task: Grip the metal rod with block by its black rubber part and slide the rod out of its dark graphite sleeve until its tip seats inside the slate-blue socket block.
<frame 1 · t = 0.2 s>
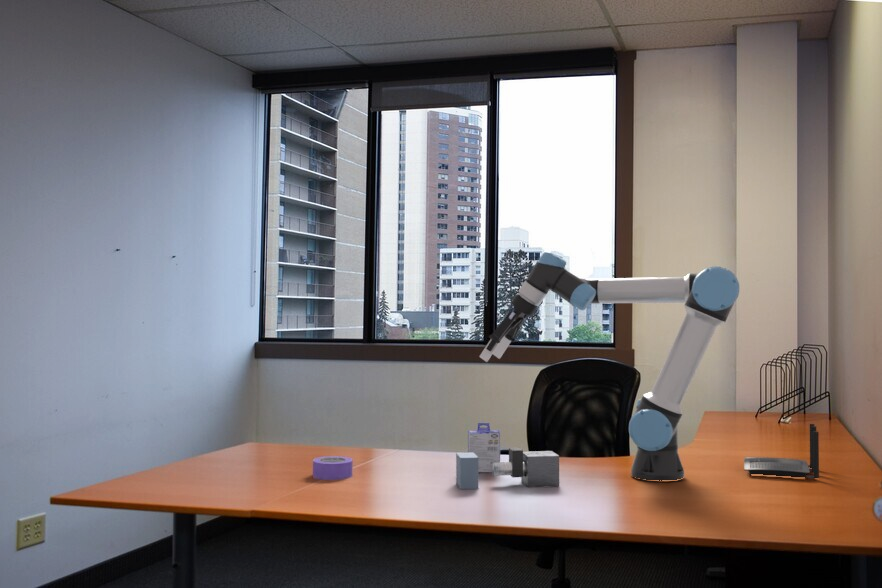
hand: (489, 357, 247), 35 cm above the table, tool tilted 35°, fingers open, 13 cm apart
tape roll: (332, 477, 245), on the table
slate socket: (467, 485, 231), on the table
ink cartridge box: (484, 471, 252), on the table
metal rod with block: (523, 462, 233), point 6 cm above the table, slide at 0.0 cm
router: (778, 474, 250), on the table
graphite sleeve: (540, 483, 234), on the table
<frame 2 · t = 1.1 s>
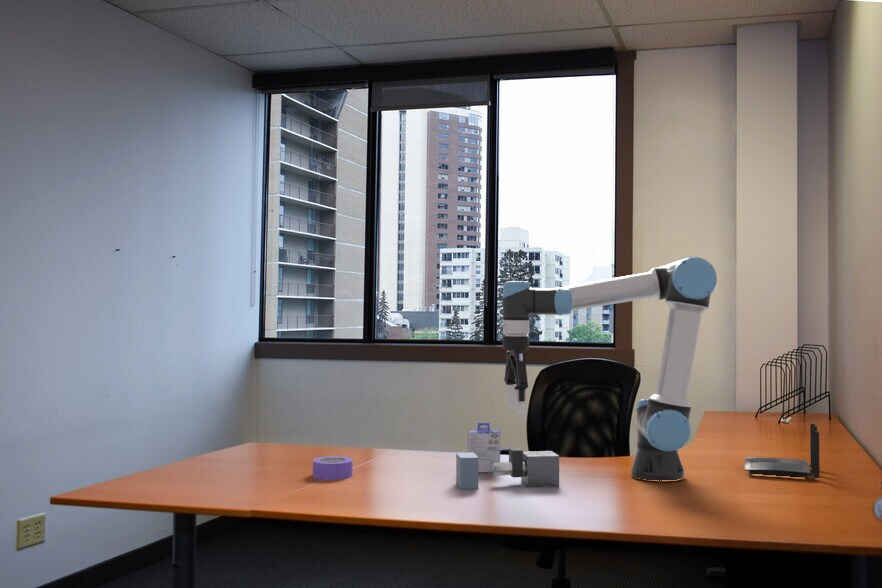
hand: (515, 410, 234), 21 cm above the table, tool pointing down, fingers open, 13 cm apart
nothing on the table moved.
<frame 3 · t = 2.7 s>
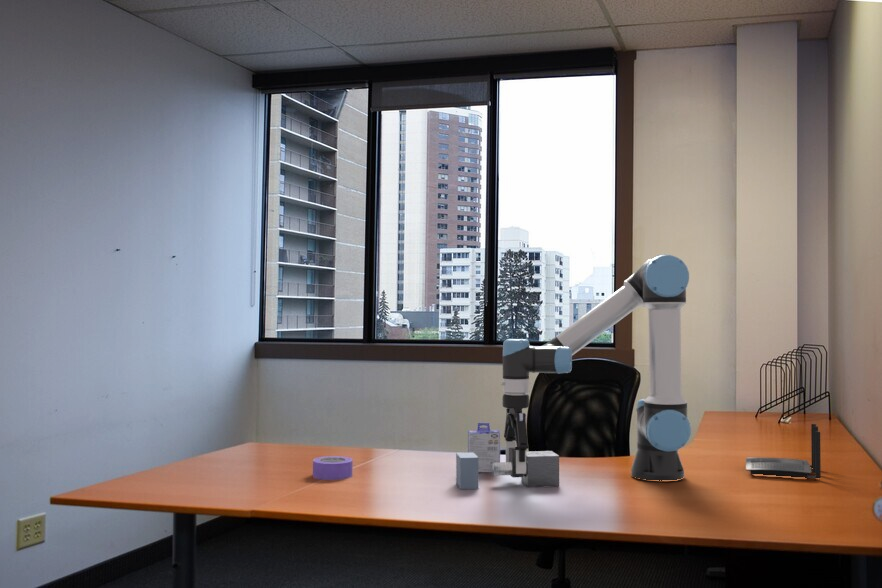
hand: (515, 468, 233), 4 cm above the table, tool pointing down, fingers open, 13 cm apart
nothing on the table moved.
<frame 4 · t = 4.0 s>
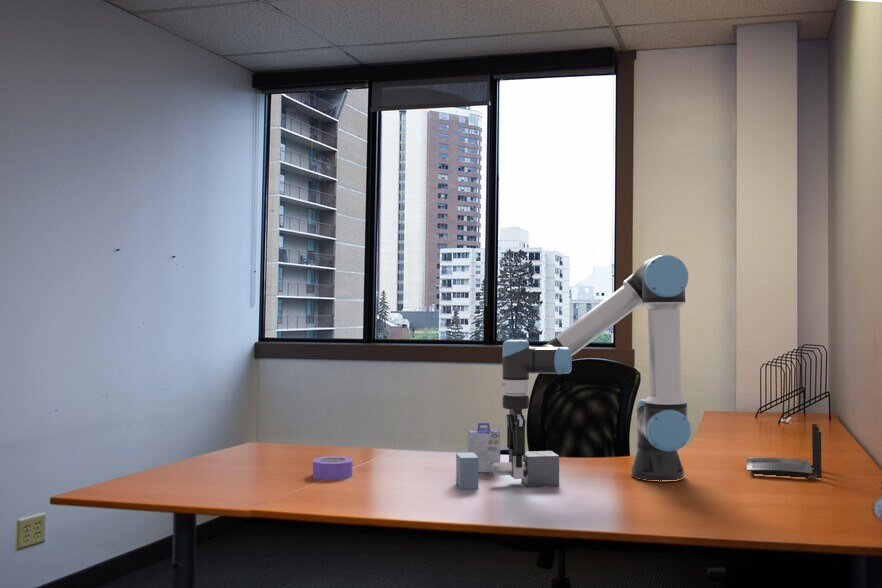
hand: (515, 476, 233), 2 cm above the table, tool pointing down, fingers closed on metal rod with block, 5 cm apart
metal rod with block: (523, 462, 233), point 6 cm above the table, slide at 0.0 cm, touching gripper
everything else where it was.
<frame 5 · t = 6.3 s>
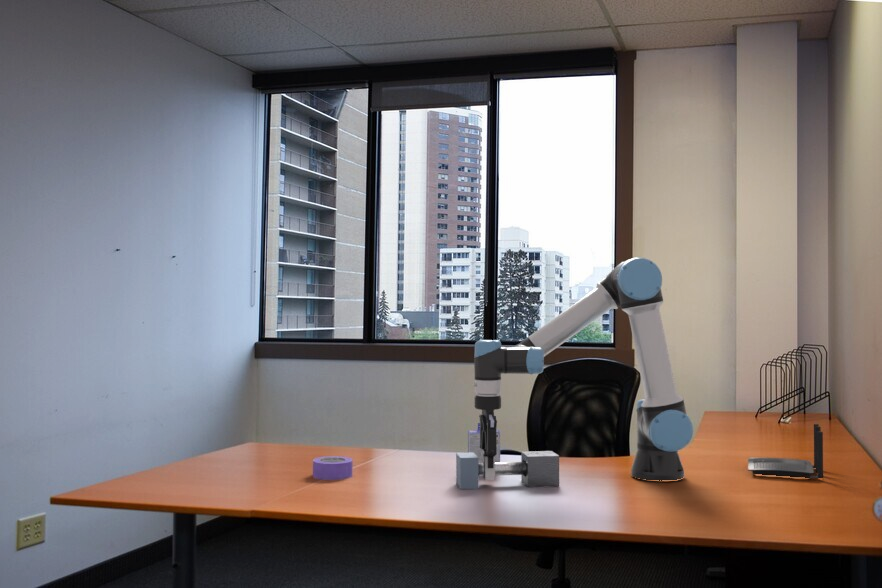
hand: (488, 477, 232), 2 cm above the table, tool pointing down, fingers closed on metal rod with block, 5 cm apart
metal rod with block: (495, 462, 232), point 6 cm above the table, slide at 8.0 cm, touching gripper
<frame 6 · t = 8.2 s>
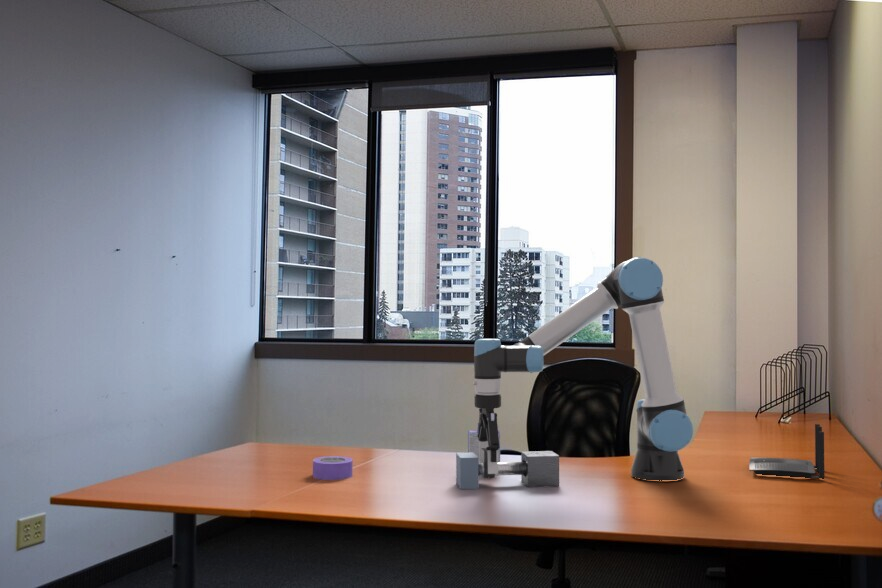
hand: (488, 468, 232), 5 cm above the table, tool pointing down, fingers open, 13 cm apart
metal rod with block: (495, 462, 232), point 6 cm above the table, slide at 8.0 cm
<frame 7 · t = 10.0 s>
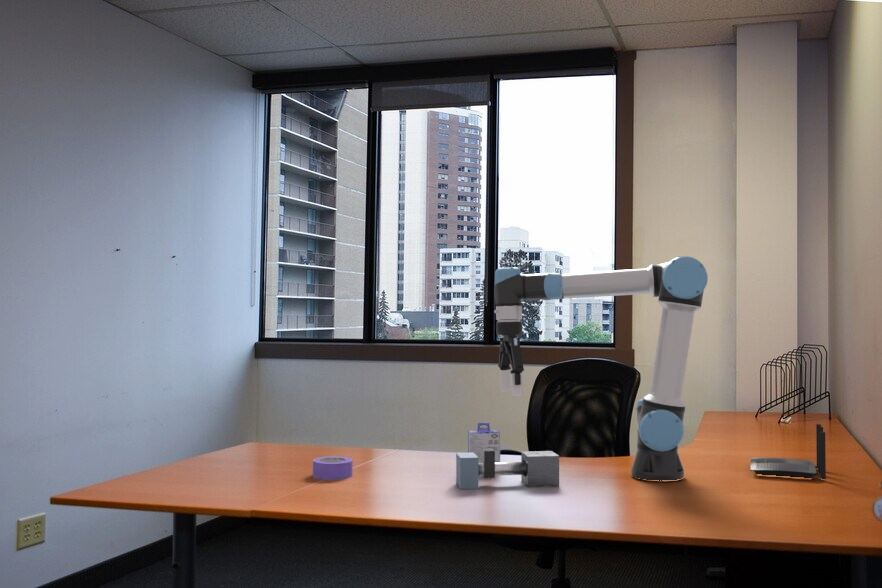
hand: (511, 394, 238), 25 cm above the table, tool pointing down, fingers open, 13 cm apart
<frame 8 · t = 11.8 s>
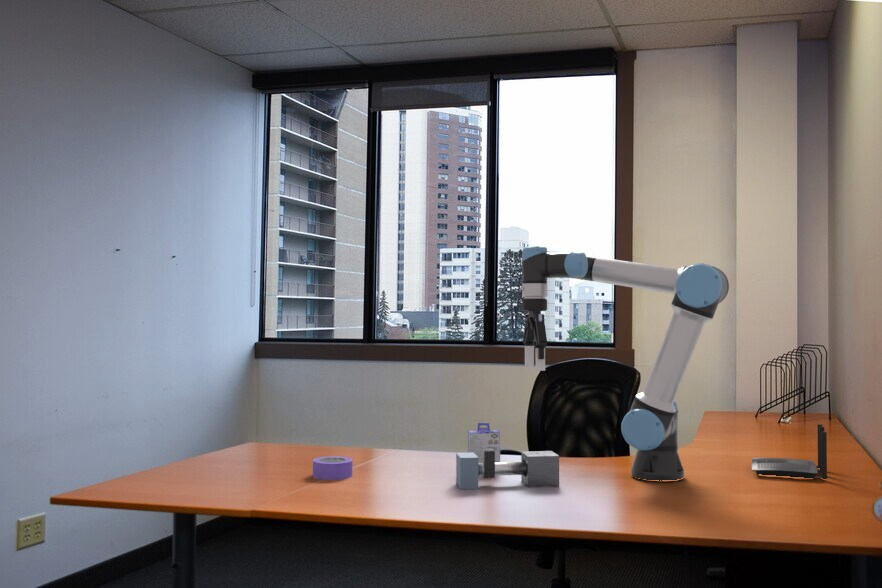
hand: (534, 368, 247), 32 cm above the table, tool pointing down, fingers open, 13 cm apart
at the end: metal rod with block slide at 8.0 cm; ink cartridge box moved 0.3 cm from its start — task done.
